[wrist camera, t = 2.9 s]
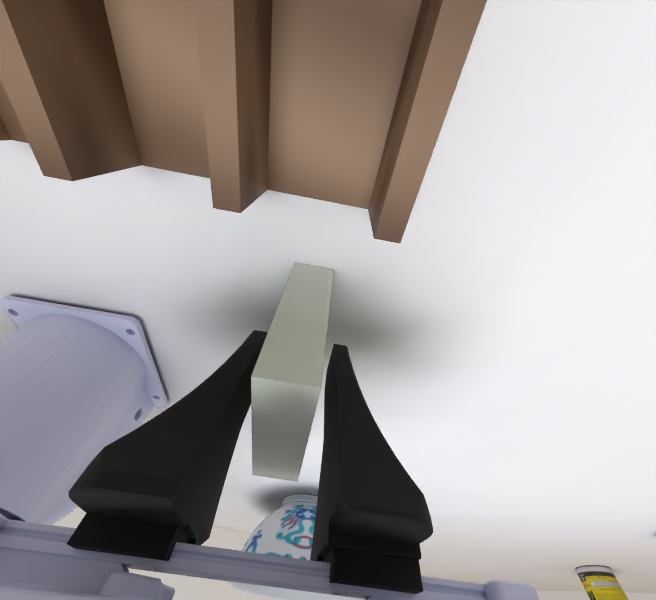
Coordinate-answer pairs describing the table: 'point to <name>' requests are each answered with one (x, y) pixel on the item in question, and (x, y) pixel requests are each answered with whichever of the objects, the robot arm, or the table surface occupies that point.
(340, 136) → the dish rack
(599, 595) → the supplement bottle
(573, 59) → the table surface
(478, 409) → the table surface
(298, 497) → the chinaware
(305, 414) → the pale green box
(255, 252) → the table surface
